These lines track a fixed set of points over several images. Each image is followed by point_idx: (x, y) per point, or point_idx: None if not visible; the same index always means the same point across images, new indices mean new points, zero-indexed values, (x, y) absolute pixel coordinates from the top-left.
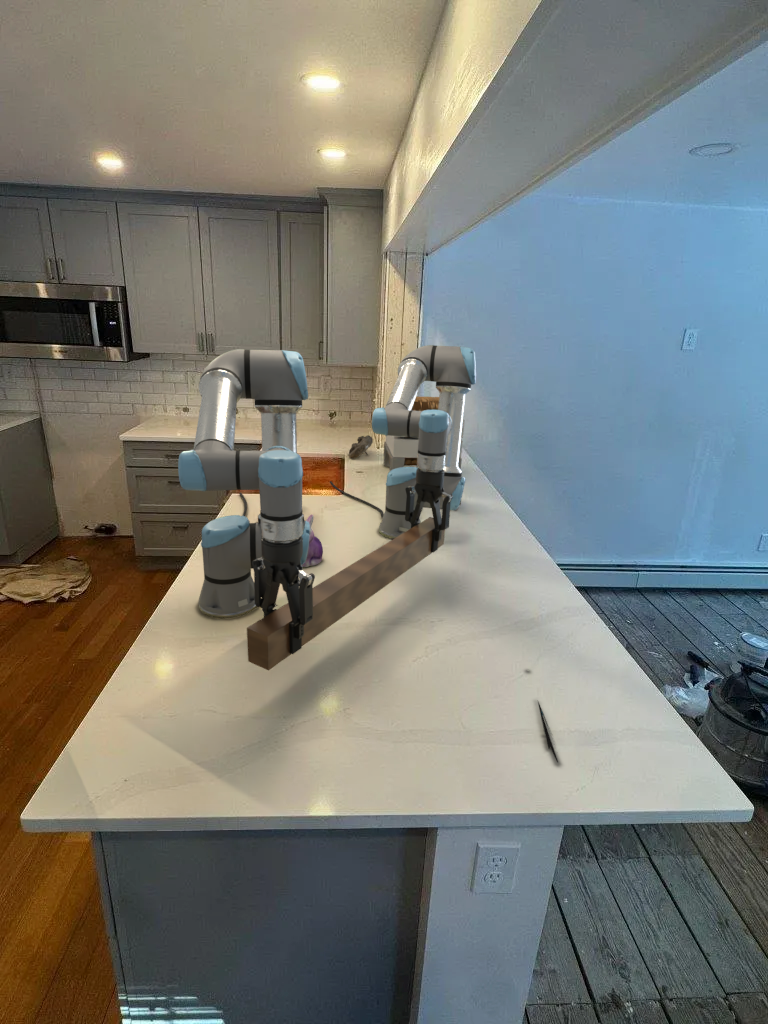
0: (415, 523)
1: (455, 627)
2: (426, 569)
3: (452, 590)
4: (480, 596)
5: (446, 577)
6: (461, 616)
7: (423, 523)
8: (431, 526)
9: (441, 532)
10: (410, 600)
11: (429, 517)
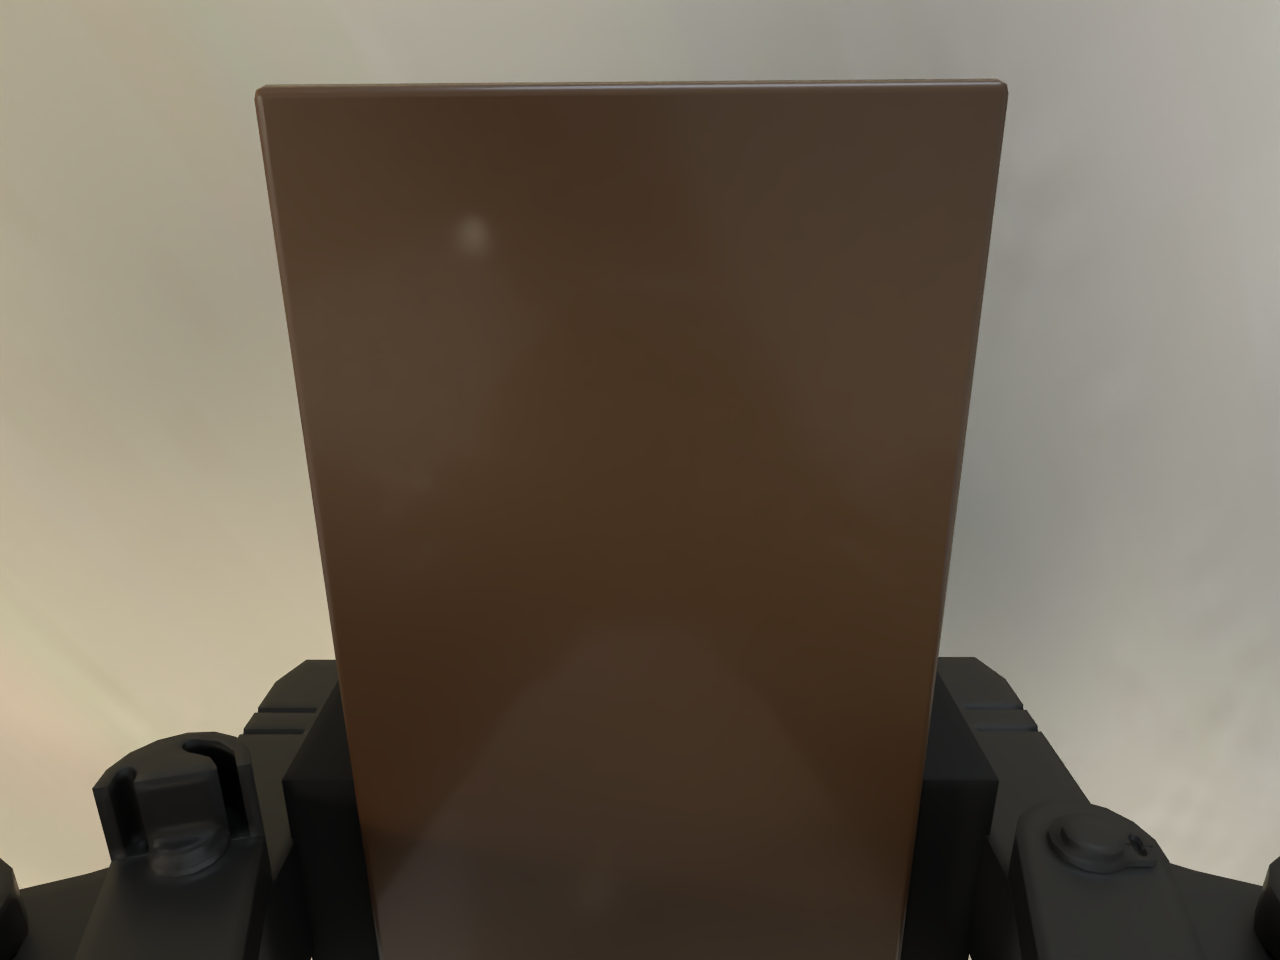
0: (299, 956)
1: (1153, 835)
2: (487, 16)
3: None
4: (1247, 274)
5: (782, 72)
6: (1157, 690)
7: (466, 814)
8: (780, 870)
9: (1074, 796)
10: None
11: (280, 182)
